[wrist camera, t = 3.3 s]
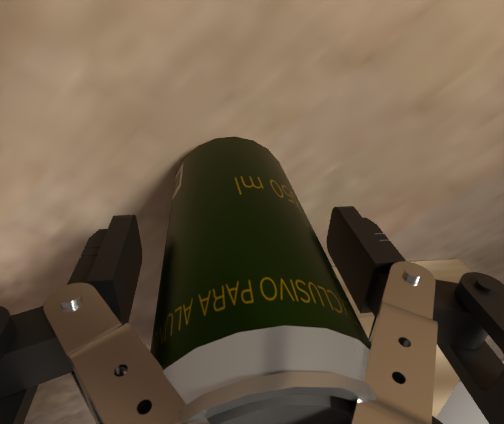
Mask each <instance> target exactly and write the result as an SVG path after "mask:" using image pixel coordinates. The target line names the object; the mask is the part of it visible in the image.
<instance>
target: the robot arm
mask: <svg viewBox="0 0 504 424" xmlns="http://www.w3.org/2000/svg"><path fill="white" fill-rule="evenodd" d="M327 249H328V252H329V254H330V256H331V258H332V260H333V262H334V264H335V266H336V268H337V270H338V272H339V273H340V275H341V277H342V279H343V281H344V283H345V285H346V287H347V289H348V291H349V293H350V295H351V297H352V298H353V300H354V302H355V304H356V306H357V308H358V310H359V312H360V314H361V313H373V315H374V316H375V317H374V320H373V323H372V327H371V330H370V334H369V337H368V339H369V341H370V343H371V348H370V353H369V359H368V365H367V370H366V376H365V382H366V383H367V384H369V385H370V386H371V387H372V388H373V390H374V393H375V395H376V399H377V400H373V399H369V398H358V400H357V402H356V401H353V402H354V408H353V413H352V416H351V419H350V421H347V422H339V423H331V424H443V423H441V422H440V421H439V420H437V419H436V418H435V417H434V416H432V408H433V393H434V378H435V362H436V347H437V345H438V347H439V348H440V350H441V351H442V353H443V354H444V356H445V357H446V359H447V360H448V362H449V363H450V365H451V366H452V368H453V369H454V371H455V372H456V374H457V375H458V377H459V378H460V380H461V381H462V383H463V384H464V386H465V387H466V389H467V391H468V392H469V394H470V395H471V397H472V398H473V400H474V401H475V403H476V404H477V406H478V407H479V409H480V410H481V412H482V413H483V415H484V416H485V418H486V419H487V421H488V422H489V424H504V364H503V363H502V361H501V360H500V359H499V358H498V356H497V355H496V354H495V353H494V351H493V350H492V349H491V348H490V346H489V345H488V344H487V343H486V342H485V339H486V337H487V336H488V335H489V336H490V337H491V338H492V339H493V341H494V342H495V343H496V344H497V345H498V346H499V348H500V349H501V350H502V352H503V354H504V284H502V283H501V282H500V281H498V280H496V279H495V278H493V277H491V276H488V275H485V274H482V273H477V272H468V273H465V274H463V275H462V277H461V279H460V281H459V283H455V282H449V281H443V280H437V279H435V278H434V276H433V274H432V273H431V272H430V271H429V270H427V269H426V268H424V267H423V266H421V265H418V264H416V263H412V262H406V260H405V259H404V258H403V257H402V255H401V254H400V253H399V252H398V250H397V249H396V248H395V247H394V245H393V244H392V243H391V242H390V241H388V238H387V237H386V235H385V234H383V232H382V231H381V229H380V228H379V227H378V226H377V224H375V223H374V222H372V221H371V220H369V219H367V218H362V217H361V215H360V214H359V213H358V211H357V210H356V209H355V208H354V207H353V206H347V207H334V208H333V210H332V214H331V219H330V225H329V230H328V235H327ZM141 264H142V247H141V241H140V236H139V230H138V225H137V219H136V216H135V215H117V216H113V218H112V220H111V223H110V225H109V227H108V229H99V230H98V231H97V232H96V233H95V234H93V235H92V236H91V237H90V238H89V240H88V242H87V244H86V246H85V250H83V252H82V255H81V258H80V259H79V261H78V263H77V265H76V267H75V269H74V271H73V274H72V276H71V278H70V280H69V282H68V284H67V285H66V286H63V287H61V288H59V289H57V290H56V291H54V292H53V293H52V294H51V295H50V296H49V297H48V298H47V299H46V301H45V303H44V306H41V307H39V308H36V309H33V310H29V311H26V312H22V313H19V314H16V315H12V316H11V315H10V313H9V311H8V310H7V309H6V308H4V307H1V306H0V424H23V423H24V421H25V418H26V415H27V413H28V410H29V408H30V405H31V403H32V400H33V397H34V395H35V392H36V390H37V387H38V384H41V383H43V382H46V381H49V380H51V379H54V378H57V377H59V376H62V375H65V374H67V373H71V375H72V377H73V379H74V381H75V383H76V385H77V387H78V389H79V391H80V393H81V395H82V397H83V399H84V401H85V403H86V404H87V406H88V408H89V410H90V412H91V414H92V416H93V418H94V420H95V423H96V424H180V423H179V421H178V410H179V409H180V408H182V407H184V406H185V405H187V404H186V403H185V402H184V400H183V399H182V398H181V396H180V395H179V394H178V392H177V391H176V390H175V388H174V387H173V386H172V384H171V383H170V382H169V380H168V379H167V378H166V376H165V375H164V373H163V371H162V370H163V368H162V367H161V365H160V364H159V363H158V361H157V360H156V359H155V357H154V356H153V355H152V353H151V352H150V351H149V350H148V348H147V347H146V346H145V344H144V343H143V342H142V340H141V339H140V338H139V336H138V335H137V334H136V332H135V331H134V330H133V329H132V327H131V326H130V325H129V324H128V322H129V317H130V313H131V308H132V304H133V299H134V295H135V290H136V286H137V282H138V277H139V273H140V268H141ZM183 424H210V422H209V421H208V420H207V419H206V418H205V417H204V416H203V417H199V418H196V419H193V420H190V421H188V422H185V423H183Z"/></svg>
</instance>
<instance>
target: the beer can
mask: <svg viewBox="0 0 504 424" xmlns="http://www.w3.org/2000/svg"><path fill="white" fill-rule="evenodd" d="M370 348H371V343H370V341H369V339H368V337H367V335H366V333H365V331H364V329H363V327H362V325H361V323H360V321H359V319H358V317H357V315H356V313H355V311H354V309H353V307H352V305H351V303H350V301H349V299H348V297H347V295H346V293H345V291H344V289H343V287H342V285H341V283H340V282H339V280H338V278H337V276H336V274H335V272H334V270H333V268H332V266H331V264H330V262H329V260H328V258H327V256H326V254H325V252H324V250H323V248H322V246H321V244H320V242H319V240H318V238H317V236H316V234H315V232H314V230H313V228H312V226H311V224H310V222H309V220H308V218H307V216H306V214H305V212H304V210H303V208H302V206H301V204H300V202H299V200H298V198H297V196H296V195H295V193H294V191H293V189H292V187H291V185H290V183H289V181H288V179H287V177H286V175H285V173H284V171H283V169H282V167H281V165H280V163H279V161H278V160H277V159H276V158H275V157H274V156H273V154H272V153H271V152H270V151H269V150H268V149H267V148H265V147H263V146H262V145H260V144H258V143H256V142H255V141H253V140H248V139H243V138H239V137H226V138H216V139H213V140H211V141H209V142H206V143H204V144H202V145H199V146H198V147H196V148H195V149H194V150H193V151H192V152H191V153H190V154H188V155H187V156H186V157H185V158H184V160H183V161H182V163H181V165H180V167H179V169H178V170H177V172H176V176H175V182H174V189H173V196H172V203H171V210H170V217H169V224H168V231H167V238H166V245H165V252H164V259H163V266H162V273H161V280H160V287H159V294H158V301H157V308H156V315H155V322H154V329H153V336H152V343H151V350H150V352H151V353H152V355H153V356H154V357H155V359H156V360H157V361H158V363H159V364H160V365H161V367H162V368H163V370H162V371H163V373H164V375H165V376H166V378H167V379H168V380H169V382H170V383H171V384H172V386H173V387H174V388H175V390H176V391H177V392H178V394H179V395H180V396H181V398H182V399H183V400H184V402H185V403H186V404H187V405H185V406H184V407H182V408H180V409H179V410H178V421H179V423H180V424H183V423H185V422H188V421H190V420H193V419H196V418H199V417H203V416H204V417H205V418H206V419H207V420H208V421H209V422H210V424H331V423H339V422H347V421H350V419H351V416H352V413H353V408H354V402H353V401H356V402H357V400H358V398H369V399H373V400H377V399H376V395H375V393H374V390H373V388H372V387H371V386H370V385H369V384H367V383H366V382H365V376H366V370H367V365H368V359H369V353H370Z"/></svg>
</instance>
